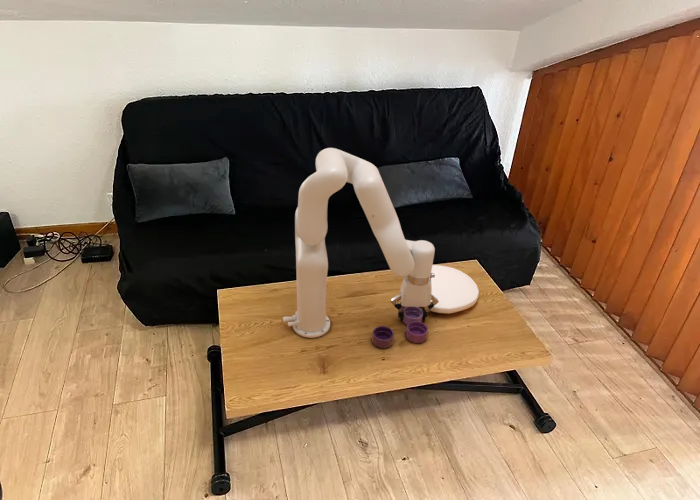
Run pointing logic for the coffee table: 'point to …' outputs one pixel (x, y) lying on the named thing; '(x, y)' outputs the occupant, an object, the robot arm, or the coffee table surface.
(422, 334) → the plum dish
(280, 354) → the coffee table surface
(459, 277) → the plate
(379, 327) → the aubergine dish
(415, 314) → the lilac dish
